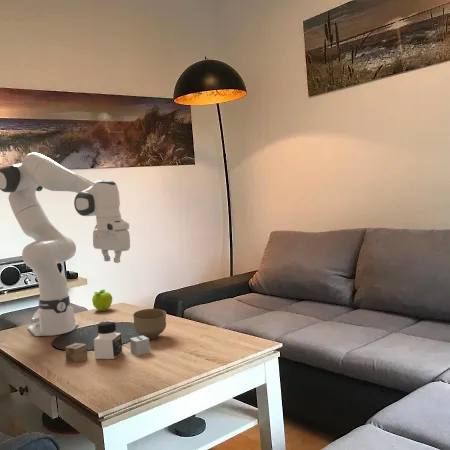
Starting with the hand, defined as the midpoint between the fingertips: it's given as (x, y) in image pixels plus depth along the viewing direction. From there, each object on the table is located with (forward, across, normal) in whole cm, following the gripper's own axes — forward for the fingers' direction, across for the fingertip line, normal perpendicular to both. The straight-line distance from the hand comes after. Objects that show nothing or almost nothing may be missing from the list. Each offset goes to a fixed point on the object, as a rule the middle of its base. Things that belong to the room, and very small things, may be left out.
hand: (112, 261), depth 182 cm
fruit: (+31, -52, +24) cm, 65 cm away
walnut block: (+31, +2, -18) cm, 36 cm away
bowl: (+31, +4, +12) cm, 34 cm away
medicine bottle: (+31, +8, -9) cm, 34 cm away
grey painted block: (+31, +14, 0) cm, 34 cm away
